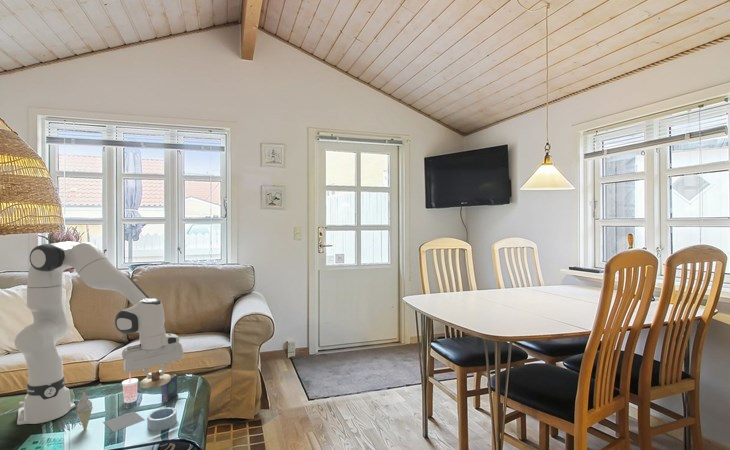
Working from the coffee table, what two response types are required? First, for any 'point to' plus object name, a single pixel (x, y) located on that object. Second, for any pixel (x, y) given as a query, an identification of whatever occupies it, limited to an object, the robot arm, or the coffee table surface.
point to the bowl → (161, 419)
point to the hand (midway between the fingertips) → (155, 376)
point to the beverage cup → (130, 389)
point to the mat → (123, 421)
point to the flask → (169, 388)
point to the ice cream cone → (84, 410)
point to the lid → (155, 380)
